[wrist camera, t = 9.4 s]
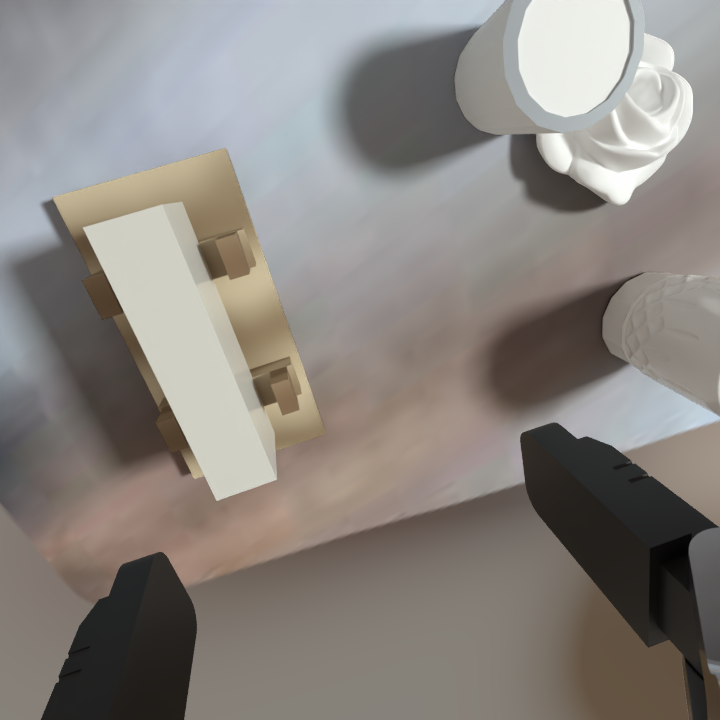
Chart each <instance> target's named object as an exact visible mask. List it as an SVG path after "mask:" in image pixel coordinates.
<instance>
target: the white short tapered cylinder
mask: <svg viewBox="0 0 720 720" xmlns="http://www.w3.org/2000/svg"><path fill="white" fill-rule="evenodd" d="M644 24H645V15H644V11H643V8H642V4H641V1H640V0H506V1H505V2H504V3H503V4H502V5H501V6H500V7H499V8H498V9H497V10H496V11H495V12H494V13H493V14H492V16H491V17H490V18H489V19H488V20H487V21H486V22H485V23H484V24H483V25H482V26H481V27H480V28H479V29H478V30H477V31H476V33H475V34H474V35H473V36H472V37H471V38H470V40H469V41H468V43H467V45H466V46H465V48H464V49H463V51H462V52H461V54H460V56H459V60H458V64H457V68H456V72H455V77H454V80H455V91H456V100H457V102H458V104H459V106H460V109H461V111H462V113H463V115H464V117H465V118H466V119H467V120H468V121H469V122H470V123H471V124H472V125H473V126H474V127H476V128H477V129H478V130H480V131H483V132H487V133H490V134H494V135H507V134H546V133H565V132H570V131H575V130H581V129H586V128H589V127H591V126H592V125H594V124H595V123H596V122H598V121H599V120H601V119H602V118H604V117H605V116H607V115H608V114H609V113H611V112H612V111H613V110H614V109H615V108H616V106H617V105H618V103H619V102H620V101H621V99H622V98H623V96H624V95H625V94H626V92H627V91H628V89H629V88H630V87H631V85H632V83H633V80H634V77H635V74H636V71H637V69H638V66H639V63H640V60H641V57H642V54H643V48H644Z"/></svg>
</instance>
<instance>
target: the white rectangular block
mask: <svg viewBox="0 0 720 720" xmlns="http://www.w3.org/2000/svg"><path fill="white" fill-rule="evenodd" d="M83 229H84V231H85V233H86V235H87V237H88V239H89V241H90V243H91V246H92V248H93V250H94V252H95V254H96V256H97V258H98V260H99V262H100V264H101V266H102V268H103V270H104V272H105V274H106V276H107V278H108V280H109V282H110V284H111V286H112V288H113V290H114V292H115V294H116V296H117V299H118V301H119V303H120V305H121V307H122V309H123V311H124V313H125V315H126V317H127V319H128V321H129V323H130V325H131V327H132V329H133V331H134V333H135V335H136V337H137V339H138V341H139V343H140V345H141V347H142V349H143V352H144V354H145V356H146V358H147V360H148V362H149V364H150V366H151V368H152V370H153V372H154V374H155V376H156V378H157V380H158V382H159V384H160V386H161V388H162V390H163V392H164V394H165V396H166V398H167V400H168V402H169V405H170V407H171V409H172V411H173V413H174V415H175V417H176V419H177V421H178V423H179V425H180V427H181V429H182V431H183V433H184V435H185V437H186V439H187V441H188V443H189V445H190V447H191V449H192V451H193V453H194V455H195V458H196V460H197V462H198V464H199V466H200V468H201V470H202V472H203V474H204V476H205V478H206V480H207V482H208V484H209V486H210V488H211V490H212V492H213V494H214V496H215V498H216V500H220V499H223V498H226V497H229V496H232V495H235V494H238V493H240V492H243V491H246V490H249V489H252V488H255V487H258V486H260V485H263V484H266V483H269V482H272V481H275V480H277V471H276V451H275V433H274V430H273V428H272V425H271V423H270V420H269V418H268V415H267V413H266V410H265V408H264V405H263V403H262V400H261V398H260V395H259V393H258V390H257V388H256V385H255V383H254V380H253V378H252V375H251V373H250V370H249V368H248V365H247V363H246V360H245V358H244V355H243V353H242V350H241V348H240V345H239V343H238V340H237V338H236V335H235V333H234V330H233V328H232V325H231V323H230V320H229V318H228V315H227V313H226V310H225V308H224V305H223V303H222V300H221V298H220V295H219V293H218V290H217V288H216V285H215V283H214V280H213V278H212V275H211V273H210V270H209V268H208V265H207V263H206V260H205V258H204V255H203V253H202V250H201V248H200V245H199V243H198V240H197V238H196V235H195V233H194V230H193V228H192V225H191V223H190V220H189V218H188V215H187V213H186V210H185V208H184V205H183V203H182V202H177V203H169V204H162V205H159V206H155V207H152V208H148V209H145V210H142V211H138V212H135V213H131V214H128V215H124V216H121V217H117V218H114V219H111V220H107V221H104V222H100V223H97V224H93V225H90V226H87V227H83Z"/></svg>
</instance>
